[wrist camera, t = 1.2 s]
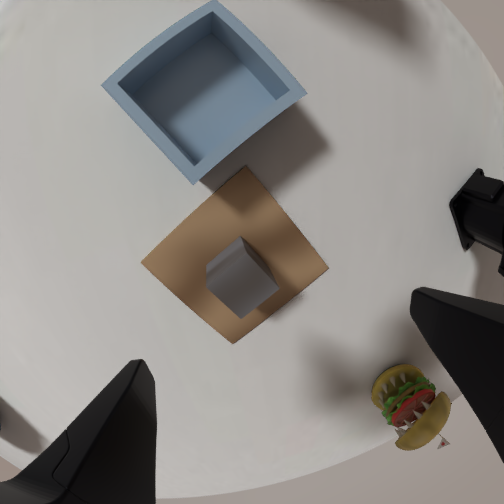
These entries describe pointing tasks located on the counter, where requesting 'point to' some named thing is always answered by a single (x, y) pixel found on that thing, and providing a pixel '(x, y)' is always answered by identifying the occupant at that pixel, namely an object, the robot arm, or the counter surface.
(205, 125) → the light blue open box
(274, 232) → the lid
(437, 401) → the hamburger
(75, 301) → the counter surface
